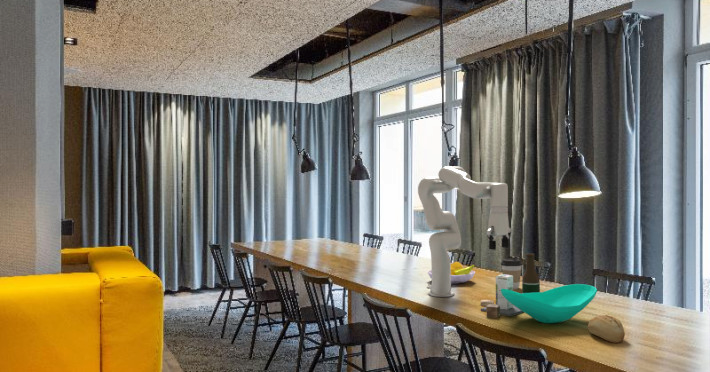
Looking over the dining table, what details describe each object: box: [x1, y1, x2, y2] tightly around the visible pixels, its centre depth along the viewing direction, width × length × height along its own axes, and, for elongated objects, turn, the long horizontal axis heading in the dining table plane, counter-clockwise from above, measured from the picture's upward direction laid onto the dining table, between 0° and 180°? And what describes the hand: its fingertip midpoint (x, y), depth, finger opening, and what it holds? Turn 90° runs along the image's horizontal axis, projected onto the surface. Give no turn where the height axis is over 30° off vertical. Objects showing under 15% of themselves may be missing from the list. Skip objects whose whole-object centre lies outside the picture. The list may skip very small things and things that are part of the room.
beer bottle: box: [521, 252, 541, 293], centre depth 252 cm, size 8×8×24 cm
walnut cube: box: [485, 304, 501, 319], centre depth 235 cm, size 4×4×4 cm
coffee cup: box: [500, 258, 523, 290], centre depth 296 cm, size 11×11×15 cm
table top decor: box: [501, 283, 598, 324], centre depth 225 cm, size 40×28×13 cm
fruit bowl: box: [427, 261, 476, 285], centre depth 316 cm, size 28×27×11 cm
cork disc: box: [480, 299, 495, 307], centre depth 257 cm, size 6×6×2 cm
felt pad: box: [480, 303, 524, 317], centre depth 245 cm, size 15×15×1 cm
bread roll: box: [587, 314, 626, 344], centre depth 200 cm, size 10×15×8 cm, turn 17°
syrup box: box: [495, 273, 514, 310], centre depth 245 cm, size 6×6×14 cm
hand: (498, 248), depth 251 cm, fingers open, 9 cm apart
